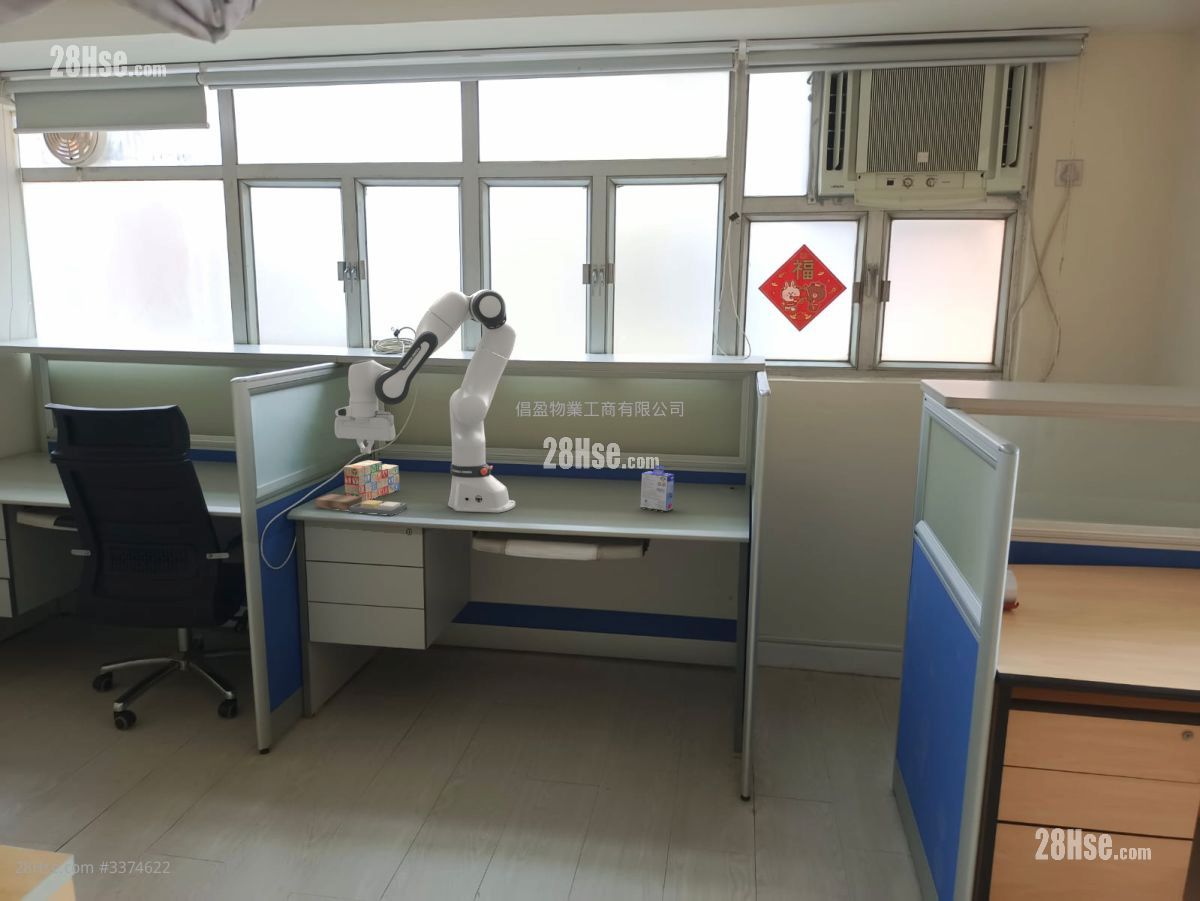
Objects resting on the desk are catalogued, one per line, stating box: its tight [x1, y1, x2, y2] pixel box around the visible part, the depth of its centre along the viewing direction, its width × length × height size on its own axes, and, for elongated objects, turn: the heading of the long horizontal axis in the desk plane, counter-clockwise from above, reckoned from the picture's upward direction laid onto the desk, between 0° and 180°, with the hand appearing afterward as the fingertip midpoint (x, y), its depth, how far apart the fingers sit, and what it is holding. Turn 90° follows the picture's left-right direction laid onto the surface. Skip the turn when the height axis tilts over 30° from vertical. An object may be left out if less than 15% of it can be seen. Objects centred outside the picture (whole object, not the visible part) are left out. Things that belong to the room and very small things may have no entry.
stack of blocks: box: [343, 459, 400, 501], centre depth 282 cm, size 21×6×12 cm, turn 156°
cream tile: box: [379, 501, 401, 510], centre depth 262 cm, size 5×5×2 cm
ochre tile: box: [361, 499, 383, 509], centre depth 263 cm, size 5×5×2 cm
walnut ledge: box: [315, 493, 362, 511], centre depth 267 cm, size 12×8×3 cm, turn 75°
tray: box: [348, 500, 408, 516], centre depth 263 cm, size 15×10×2 cm, turn 75°
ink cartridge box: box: [640, 464, 675, 510], centre depth 271 cm, size 10×6×14 cm, turn 59°
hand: (366, 453), depth 261 cm, fingers closed
